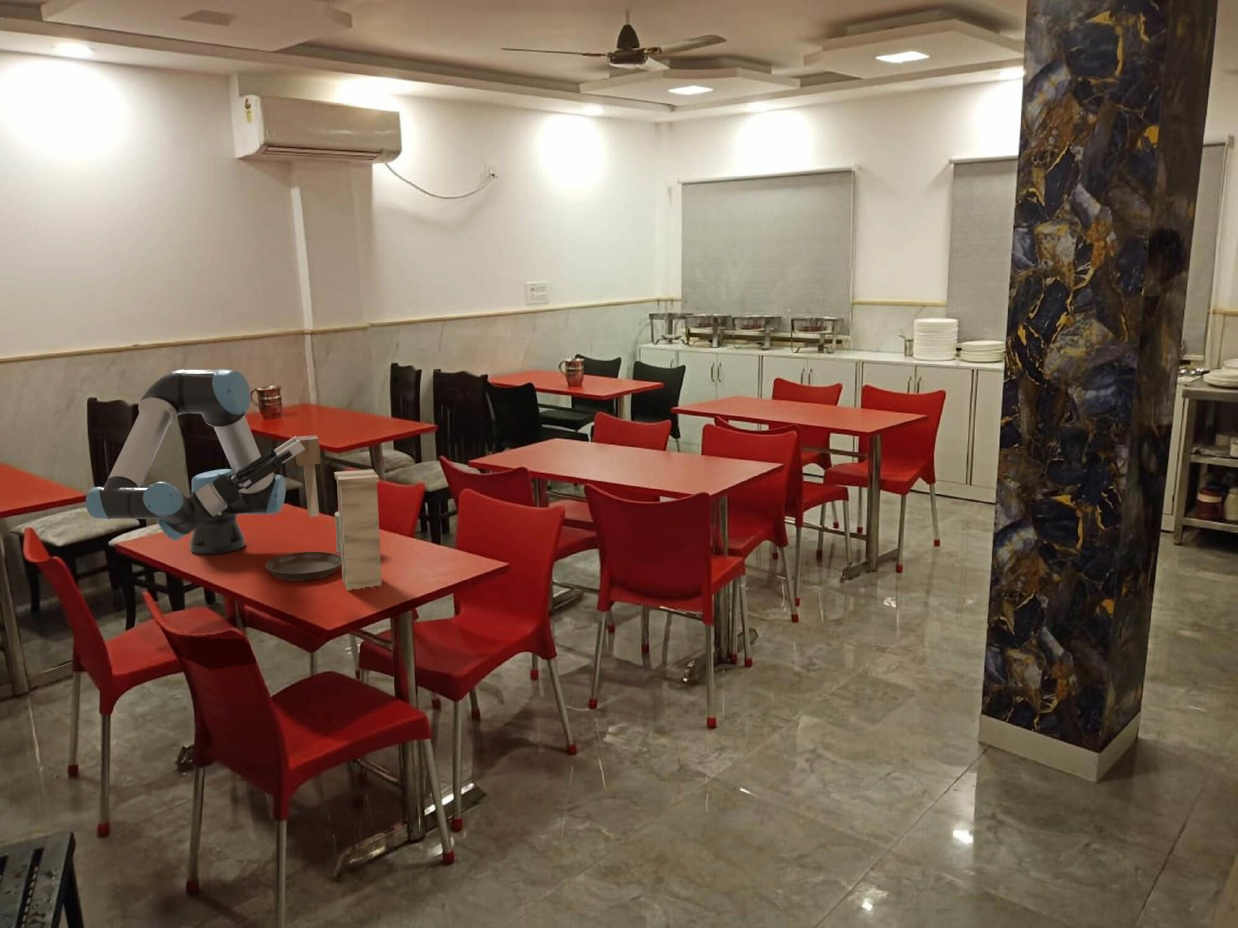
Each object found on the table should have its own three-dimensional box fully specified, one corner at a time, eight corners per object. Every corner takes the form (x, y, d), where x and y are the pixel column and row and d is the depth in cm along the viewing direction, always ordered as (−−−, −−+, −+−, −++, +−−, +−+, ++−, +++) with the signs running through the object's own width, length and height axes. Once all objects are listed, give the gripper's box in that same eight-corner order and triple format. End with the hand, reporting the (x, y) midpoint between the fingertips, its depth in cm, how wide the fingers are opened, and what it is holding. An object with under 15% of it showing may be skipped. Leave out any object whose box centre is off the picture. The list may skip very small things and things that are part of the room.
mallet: (323, 511, 260) (301, 514, 258) (316, 435, 255) (293, 437, 253) (326, 516, 255) (303, 519, 253) (318, 438, 250) (295, 440, 248)
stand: (340, 579, 267) (334, 472, 261) (377, 575, 271) (372, 469, 265) (345, 591, 258) (339, 479, 252) (384, 586, 262) (378, 476, 256)
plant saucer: (316, 556, 289) (315, 546, 288) (359, 571, 276) (358, 559, 275) (251, 573, 273) (250, 562, 272) (293, 589, 260) (293, 577, 260)
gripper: (227, 497, 256) (304, 447, 261) (230, 515, 239) (313, 461, 245) (209, 474, 253) (288, 424, 258) (211, 490, 236) (295, 436, 242)
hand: (300, 442), depth 251 cm, fingers closed on mallet, 5 cm apart
